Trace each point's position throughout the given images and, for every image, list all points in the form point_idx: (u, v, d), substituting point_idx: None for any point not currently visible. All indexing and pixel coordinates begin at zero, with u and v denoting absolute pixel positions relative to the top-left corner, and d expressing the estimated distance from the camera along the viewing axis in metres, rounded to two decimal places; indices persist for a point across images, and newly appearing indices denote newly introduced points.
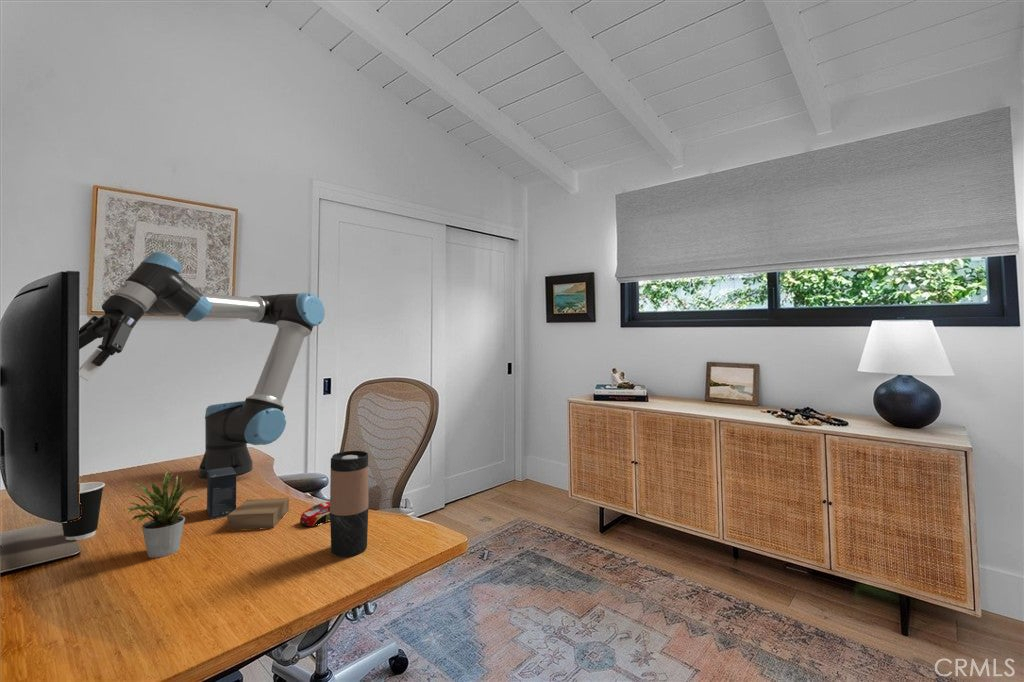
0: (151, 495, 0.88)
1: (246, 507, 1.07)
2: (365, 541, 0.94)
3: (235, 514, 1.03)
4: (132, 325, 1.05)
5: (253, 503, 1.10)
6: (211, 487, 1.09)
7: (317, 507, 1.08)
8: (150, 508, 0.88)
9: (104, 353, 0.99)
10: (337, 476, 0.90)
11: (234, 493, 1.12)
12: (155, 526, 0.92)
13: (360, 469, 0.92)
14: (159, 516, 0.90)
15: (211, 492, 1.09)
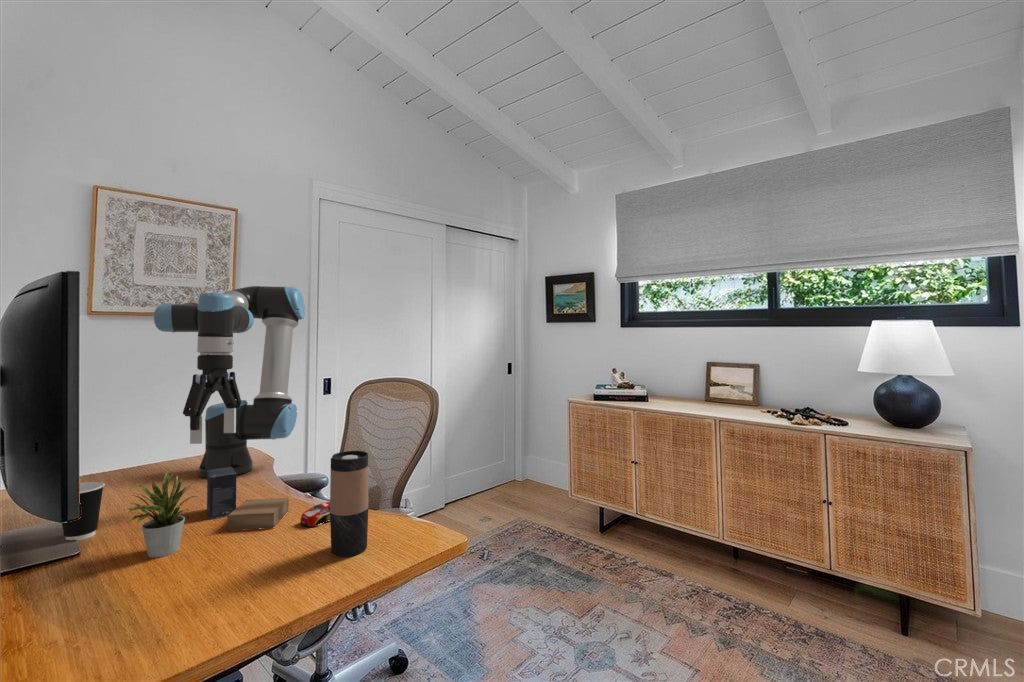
0: (151, 495, 0.88)
1: (246, 507, 1.07)
2: (365, 541, 0.94)
3: (235, 514, 1.03)
4: None
5: (253, 503, 1.10)
6: (211, 487, 1.09)
7: (317, 507, 1.08)
8: (150, 508, 0.88)
9: None
10: (337, 476, 0.90)
11: (234, 493, 1.12)
12: (155, 526, 0.92)
13: (360, 469, 0.92)
14: (159, 516, 0.90)
15: (211, 492, 1.09)
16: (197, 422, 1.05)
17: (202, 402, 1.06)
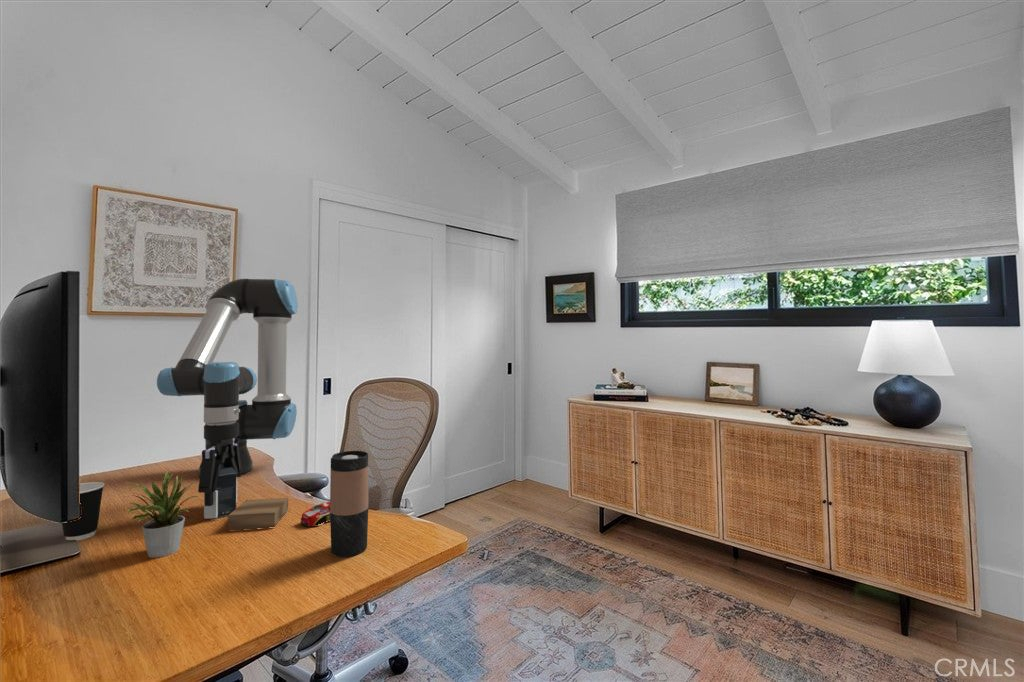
0: (151, 495, 0.88)
1: (246, 507, 1.07)
2: (365, 541, 0.94)
3: (236, 514, 1.03)
4: None
5: (253, 503, 1.10)
6: None
7: (318, 507, 1.08)
8: (150, 508, 0.88)
9: None
10: (337, 476, 0.90)
11: (234, 493, 1.12)
12: (155, 526, 0.92)
13: (360, 469, 0.92)
14: (159, 516, 0.90)
15: None
16: (211, 498, 1.08)
17: (214, 477, 1.09)
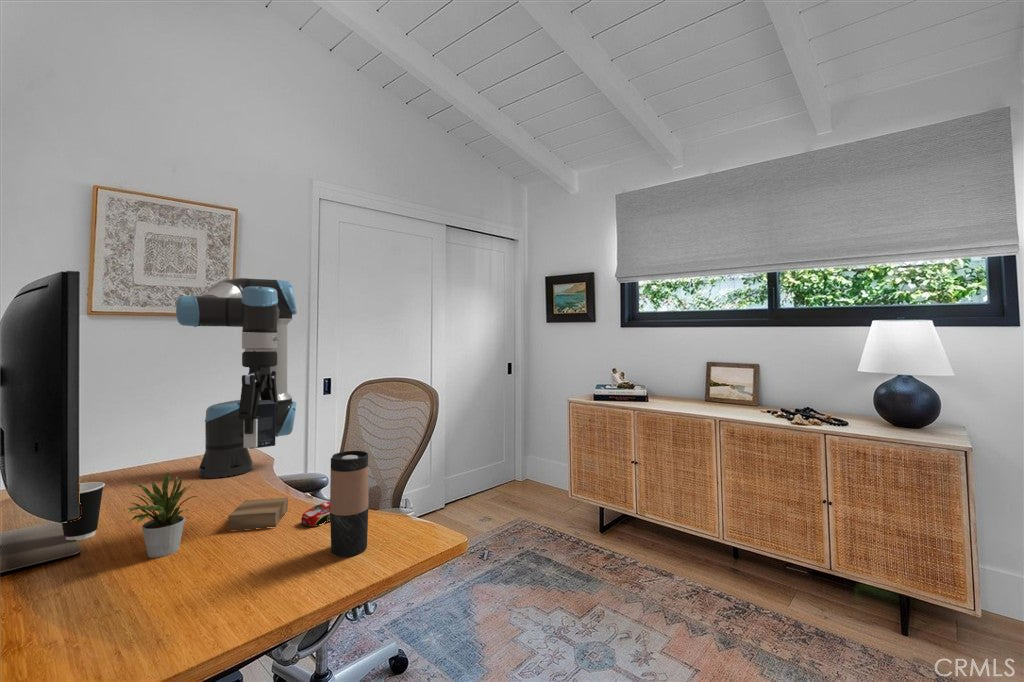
0: (151, 495, 0.88)
1: (246, 508, 1.07)
2: (365, 541, 0.94)
3: (236, 514, 1.03)
4: None
5: (252, 503, 1.10)
6: None
7: (318, 507, 1.08)
8: (150, 508, 0.88)
9: None
10: (337, 476, 0.90)
11: (273, 423, 1.07)
12: (155, 526, 0.92)
13: (360, 469, 0.92)
14: (159, 516, 0.90)
15: None
16: (251, 426, 1.02)
17: (254, 404, 1.03)
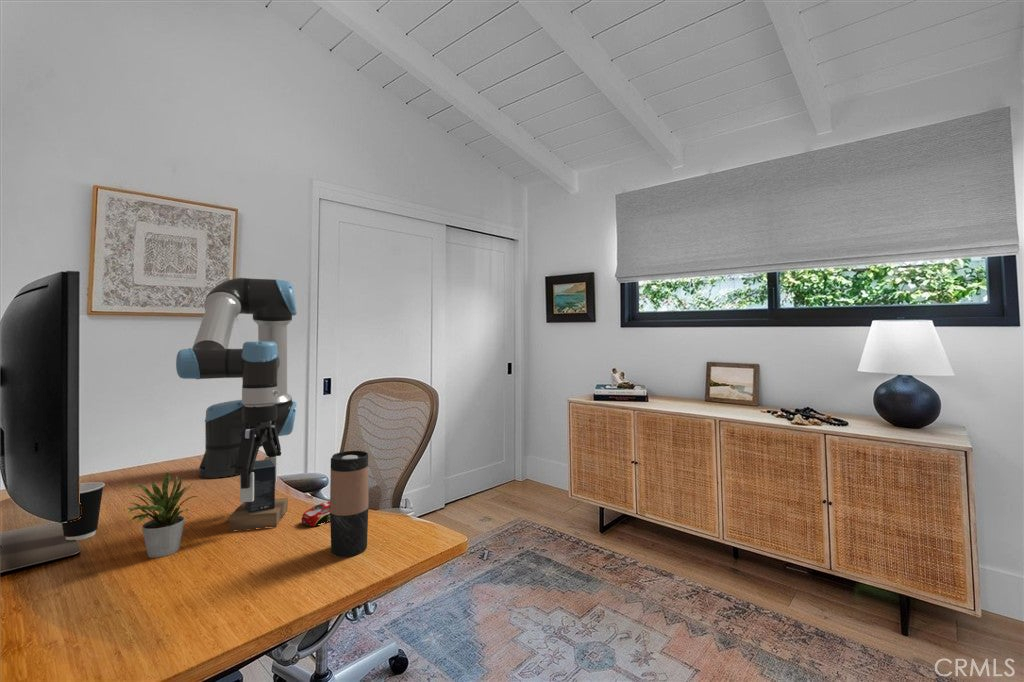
0: (151, 495, 0.88)
1: (246, 508, 1.07)
2: (365, 541, 0.94)
3: (237, 515, 1.03)
4: None
5: None
6: None
7: (318, 507, 1.08)
8: (150, 508, 0.88)
9: None
10: (337, 476, 0.90)
11: (273, 487, 1.07)
12: (155, 526, 0.92)
13: (360, 469, 0.92)
14: (159, 516, 0.90)
15: None
16: (248, 480, 1.01)
17: (251, 458, 1.02)
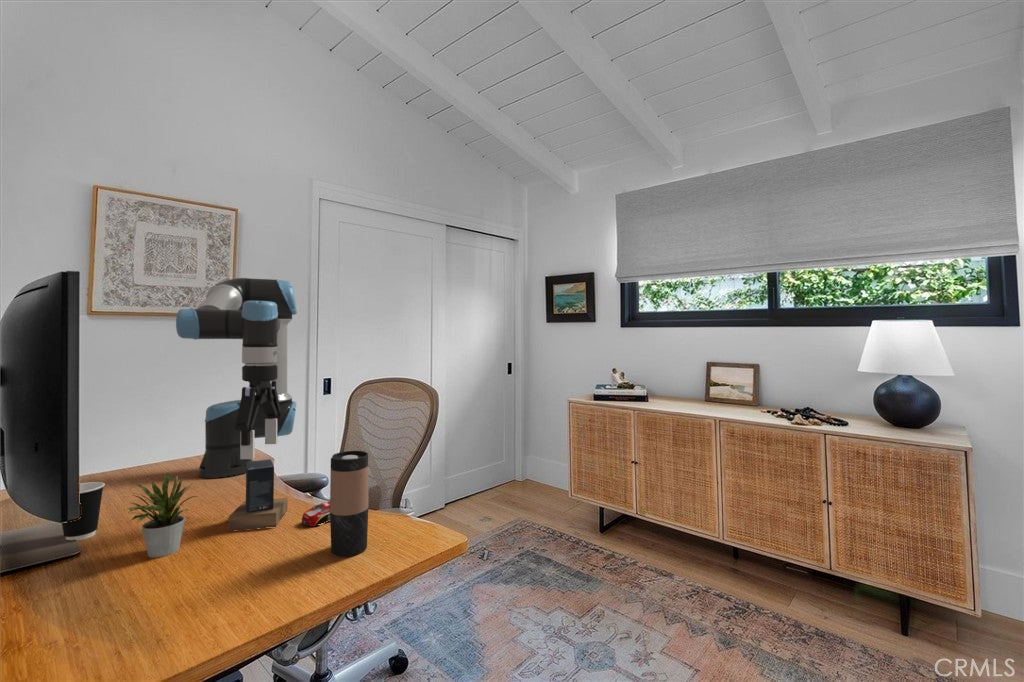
0: (151, 495, 0.88)
1: None
2: (365, 541, 0.94)
3: (236, 515, 1.03)
4: None
5: None
6: (248, 480, 1.04)
7: (319, 507, 1.08)
8: (150, 508, 0.88)
9: None
10: (337, 476, 0.90)
11: (271, 487, 1.06)
12: (155, 526, 0.92)
13: (360, 469, 0.92)
14: (159, 516, 0.90)
15: (248, 485, 1.04)
16: (248, 437, 1.01)
17: (252, 416, 1.02)
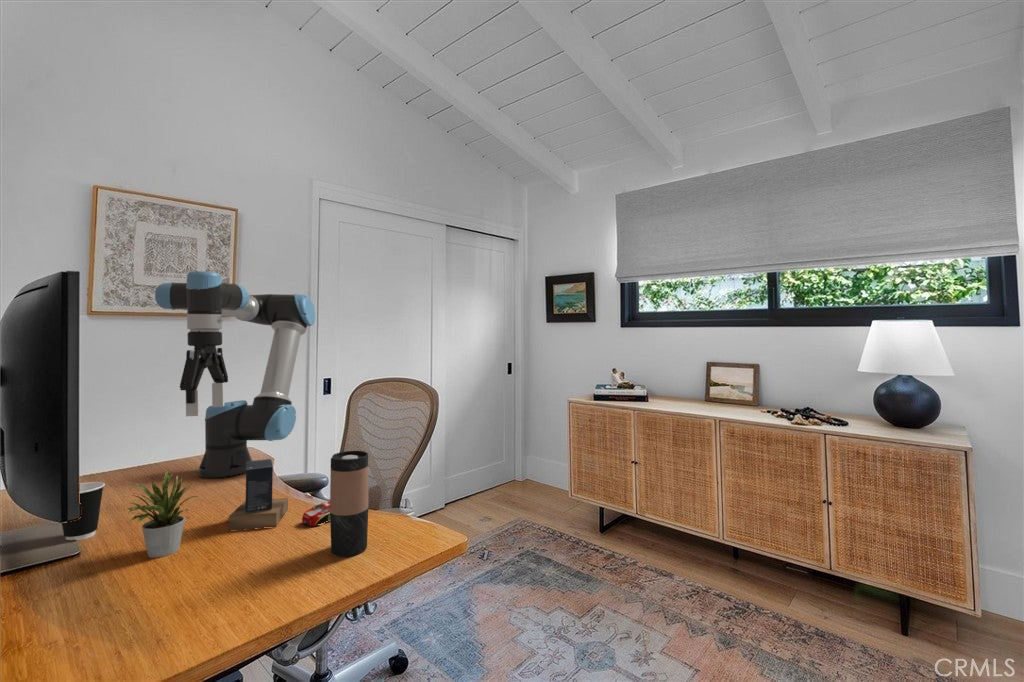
0: (151, 495, 0.88)
1: None
2: (365, 541, 0.94)
3: (237, 515, 1.03)
4: None
5: None
6: (247, 480, 1.04)
7: (319, 507, 1.08)
8: (150, 508, 0.88)
9: None
10: (337, 476, 0.90)
11: (270, 487, 1.06)
12: (155, 526, 0.92)
13: (360, 469, 0.92)
14: (159, 516, 0.90)
15: (247, 485, 1.04)
16: (193, 396, 1.10)
17: (196, 376, 1.11)
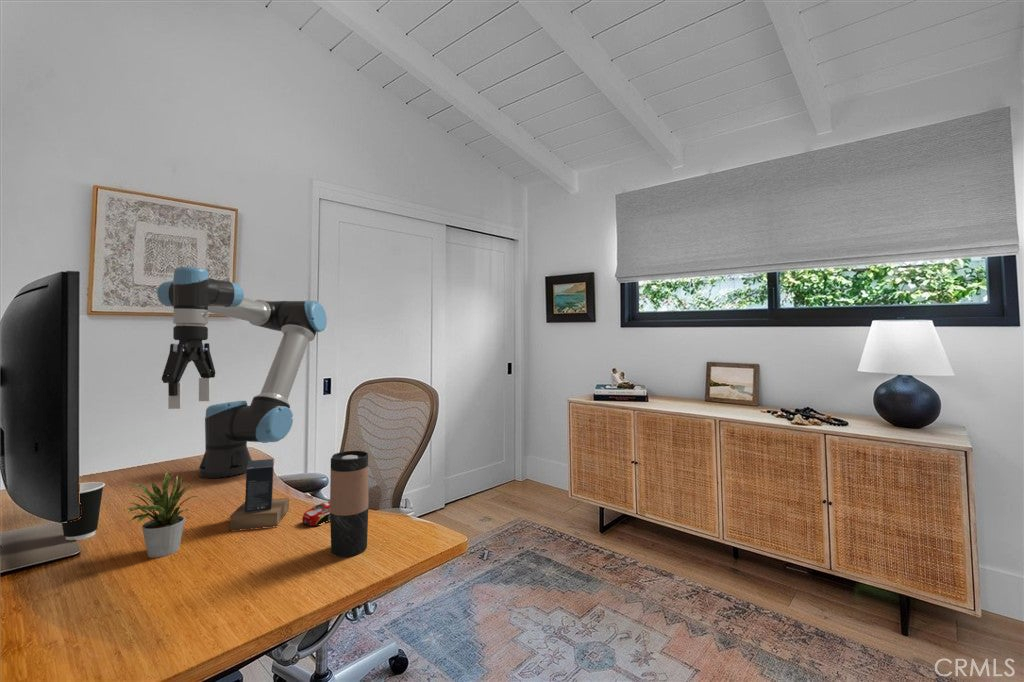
0: (151, 495, 0.88)
1: None
2: (365, 541, 0.94)
3: (238, 514, 1.03)
4: None
5: None
6: (247, 479, 1.04)
7: (319, 507, 1.08)
8: (150, 508, 0.88)
9: None
10: (337, 476, 0.90)
11: (270, 487, 1.06)
12: (155, 526, 0.92)
13: (360, 469, 0.92)
14: (159, 516, 0.90)
15: (246, 484, 1.04)
16: (175, 388, 1.11)
17: (179, 370, 1.13)
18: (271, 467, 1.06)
